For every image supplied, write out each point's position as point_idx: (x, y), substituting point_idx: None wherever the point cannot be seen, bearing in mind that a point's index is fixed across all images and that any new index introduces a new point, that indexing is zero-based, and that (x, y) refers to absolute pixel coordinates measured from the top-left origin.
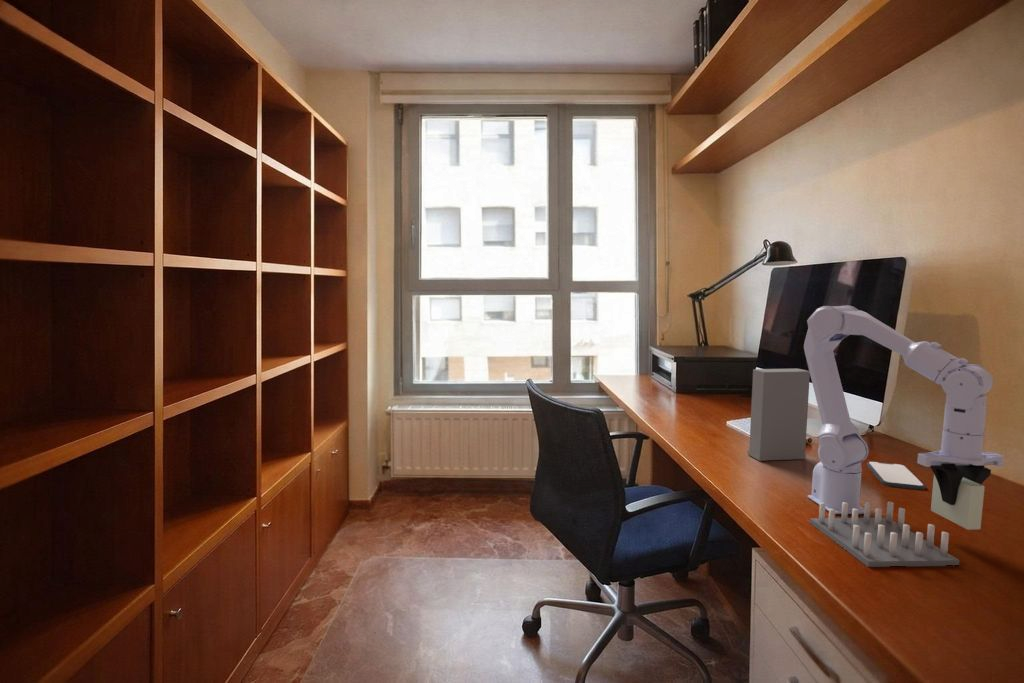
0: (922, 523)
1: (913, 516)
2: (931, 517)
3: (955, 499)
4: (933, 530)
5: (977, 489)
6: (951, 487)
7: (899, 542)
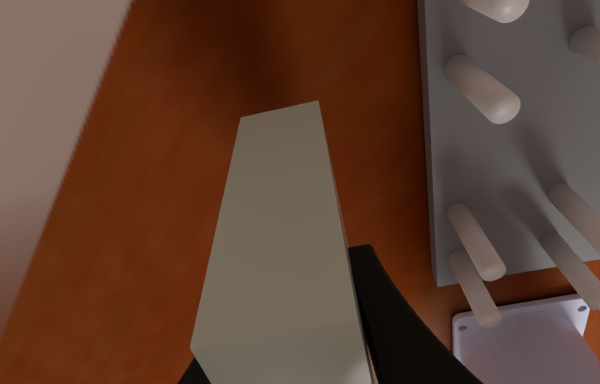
0: None
1: None
2: None
3: (359, 269)
4: (493, 82)
5: (278, 298)
6: (437, 340)
7: (573, 78)
